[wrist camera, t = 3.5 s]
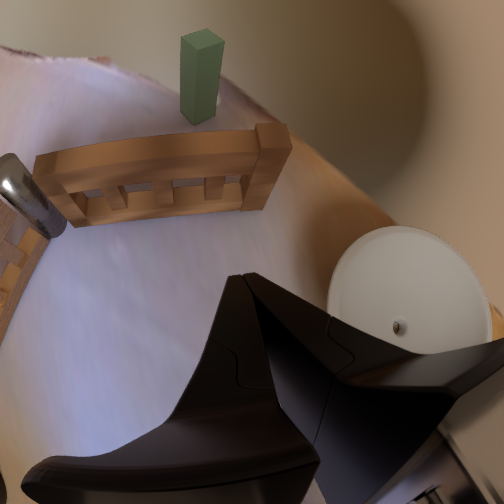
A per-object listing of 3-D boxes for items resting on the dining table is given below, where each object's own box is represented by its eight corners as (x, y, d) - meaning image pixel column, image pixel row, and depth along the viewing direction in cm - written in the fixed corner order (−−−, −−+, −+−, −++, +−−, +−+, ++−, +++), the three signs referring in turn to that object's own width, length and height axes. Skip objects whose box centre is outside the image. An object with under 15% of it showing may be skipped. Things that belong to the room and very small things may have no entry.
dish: (466, 288, 27) (499, 277, 22) (435, 422, 22) (471, 428, 17) (331, 215, 26) (357, 188, 22) (273, 377, 21) (293, 385, 17)
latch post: (193, 125, 27) (197, 49, 18) (180, 110, 27) (180, 36, 18) (214, 115, 27) (224, 41, 19) (201, 101, 28) (207, 28, 19)
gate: (74, 229, 21) (28, 175, 13) (75, 208, 22) (33, 150, 14) (262, 209, 25) (292, 147, 17) (258, 189, 25) (285, 123, 17)
